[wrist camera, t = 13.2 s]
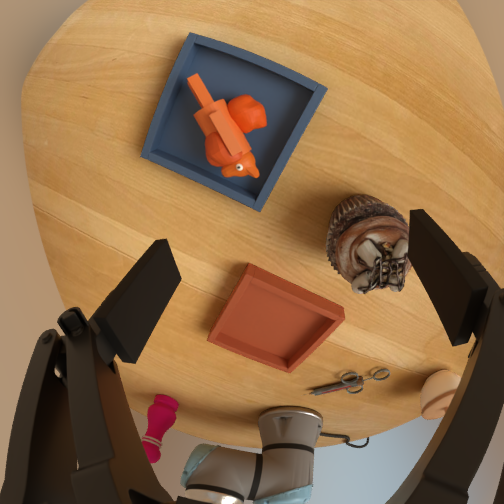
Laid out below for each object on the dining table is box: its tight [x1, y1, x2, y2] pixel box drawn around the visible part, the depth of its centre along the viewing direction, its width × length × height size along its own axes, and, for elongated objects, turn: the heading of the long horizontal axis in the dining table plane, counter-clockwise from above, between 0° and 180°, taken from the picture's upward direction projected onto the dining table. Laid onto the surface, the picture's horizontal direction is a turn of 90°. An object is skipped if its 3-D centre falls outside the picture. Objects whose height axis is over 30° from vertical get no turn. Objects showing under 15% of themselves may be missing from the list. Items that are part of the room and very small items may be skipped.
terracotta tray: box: [207, 263, 345, 373], centre depth 40 cm, size 15×15×2 cm
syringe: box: [305, 369, 390, 396], centre depth 47 cm, size 8×18×2 cm, turn 118°
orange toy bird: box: [187, 73, 267, 178], centre depth 25 cm, size 5×8×12 cm
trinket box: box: [420, 370, 461, 420], centre depth 41 cm, size 11×11×9 cm
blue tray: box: [140, 33, 328, 212], centre depth 27 cm, size 15×15×2 cm
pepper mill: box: [141, 394, 179, 463], centre depth 53 cm, size 7×7×20 cm
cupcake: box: [326, 195, 412, 294], centre depth 28 cm, size 10×10×10 cm
